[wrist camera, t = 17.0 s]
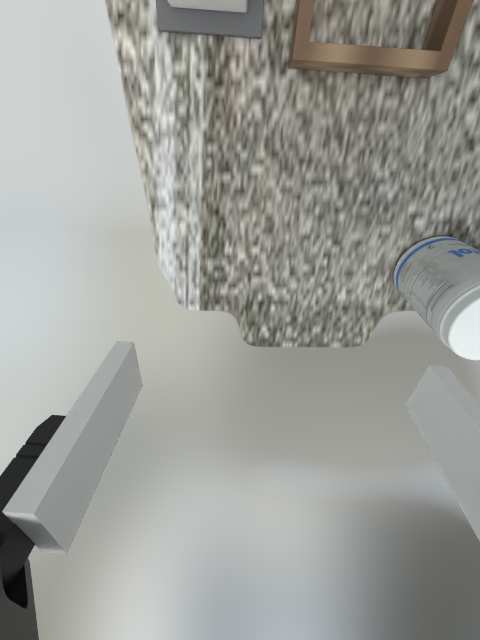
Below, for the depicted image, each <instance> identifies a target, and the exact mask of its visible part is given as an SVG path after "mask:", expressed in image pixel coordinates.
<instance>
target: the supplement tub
mask: <svg viewBox="0 0 480 640" xmlns="http://www.w3.org/2000/svg"><path fill="white" fill-rule="evenodd" d="M394 284H395V286H396V288H397V290H398V291H399V292H400V293H401V295H402V296H403V297H404V298H405V299H406V300H407V302H408V303H409V304H410V305H411V306H412V307H413V308H414V310H415V311H416V312H417V313H418V314H419V315H420V316H421V318H422V319H423V320H424V321H425V322H426V323H427V324H428V325H429V327H430V328H431V329H432V330H433V331H434V332H435V334H436V335H437V336H438V337H439V338H440V339H441V340H442V341H443V342H444V344H445V345H446V346H448V347H449V348H450V349H452V350H453V351H454V352H455V353H456V354H457V355H459V356H461V357H463V358H467V359H471V360H480V251H479V250H477V249H475V248H473V247H471V246H469V245H467V244H466V243H464V242H462V241H460V240H458V239H456V238H452V237H447V236H440V237H433V238H429V239H426V240H423V241H421V242H419V243H417V244H415V245H414V246H412V247H411V248H410V249H408V250H407V251H406V252H405V253H404V254H403V255H402V257H401V258H400V259H399V261H398V263H397V265H396V267H395V270H394Z"/></svg>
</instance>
